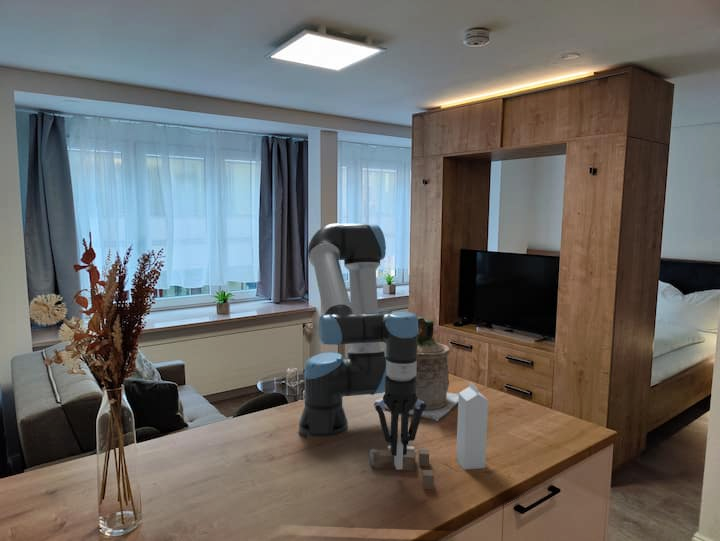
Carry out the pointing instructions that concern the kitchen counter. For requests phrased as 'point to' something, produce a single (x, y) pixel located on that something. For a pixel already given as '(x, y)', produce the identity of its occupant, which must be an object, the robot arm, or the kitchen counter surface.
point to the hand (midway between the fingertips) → (398, 466)
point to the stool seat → (423, 461)
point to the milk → (472, 428)
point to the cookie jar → (432, 374)
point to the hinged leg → (390, 460)
